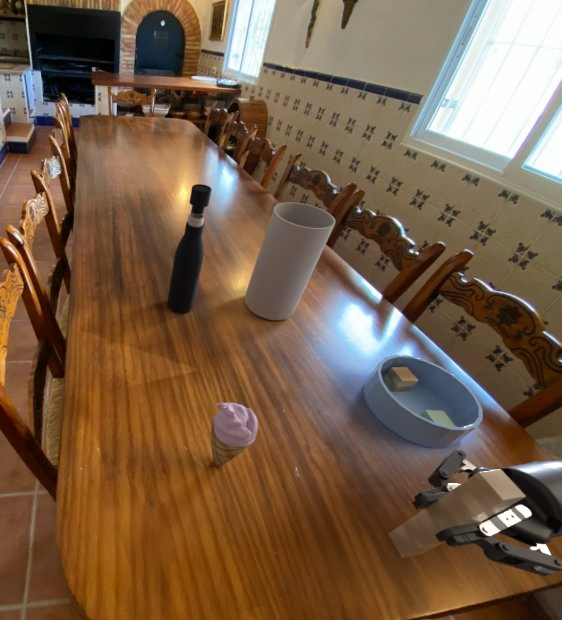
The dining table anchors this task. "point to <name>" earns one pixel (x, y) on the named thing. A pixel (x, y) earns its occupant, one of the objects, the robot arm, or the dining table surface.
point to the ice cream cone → (232, 432)
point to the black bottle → (189, 254)
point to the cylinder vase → (287, 259)
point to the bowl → (423, 403)
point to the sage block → (438, 417)
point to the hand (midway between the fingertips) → (429, 518)
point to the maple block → (400, 379)
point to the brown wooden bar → (456, 511)
